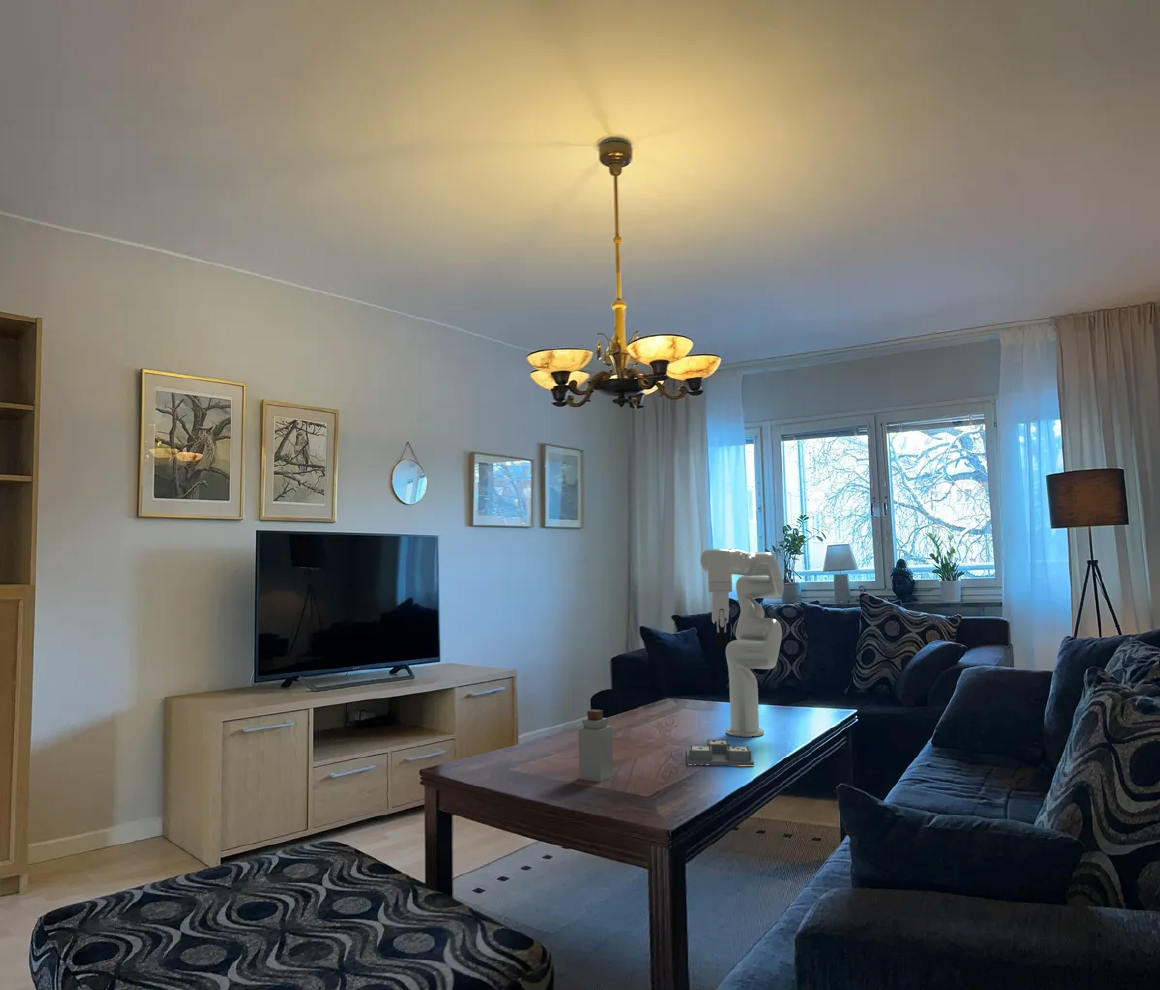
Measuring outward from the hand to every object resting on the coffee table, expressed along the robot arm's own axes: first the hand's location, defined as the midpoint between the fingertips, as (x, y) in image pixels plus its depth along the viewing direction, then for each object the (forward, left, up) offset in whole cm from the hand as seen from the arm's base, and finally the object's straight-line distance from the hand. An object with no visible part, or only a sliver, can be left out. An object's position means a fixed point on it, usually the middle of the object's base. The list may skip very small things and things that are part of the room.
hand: (721, 645), depth 253 cm
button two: (+10, -3, -30) cm, 32 cm away
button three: (+18, +3, -30) cm, 35 cm away
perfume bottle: (+38, -37, -32) cm, 62 cm away
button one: (+18, -8, -30) cm, 36 cm away
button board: (+14, -3, -32) cm, 35 cm away
